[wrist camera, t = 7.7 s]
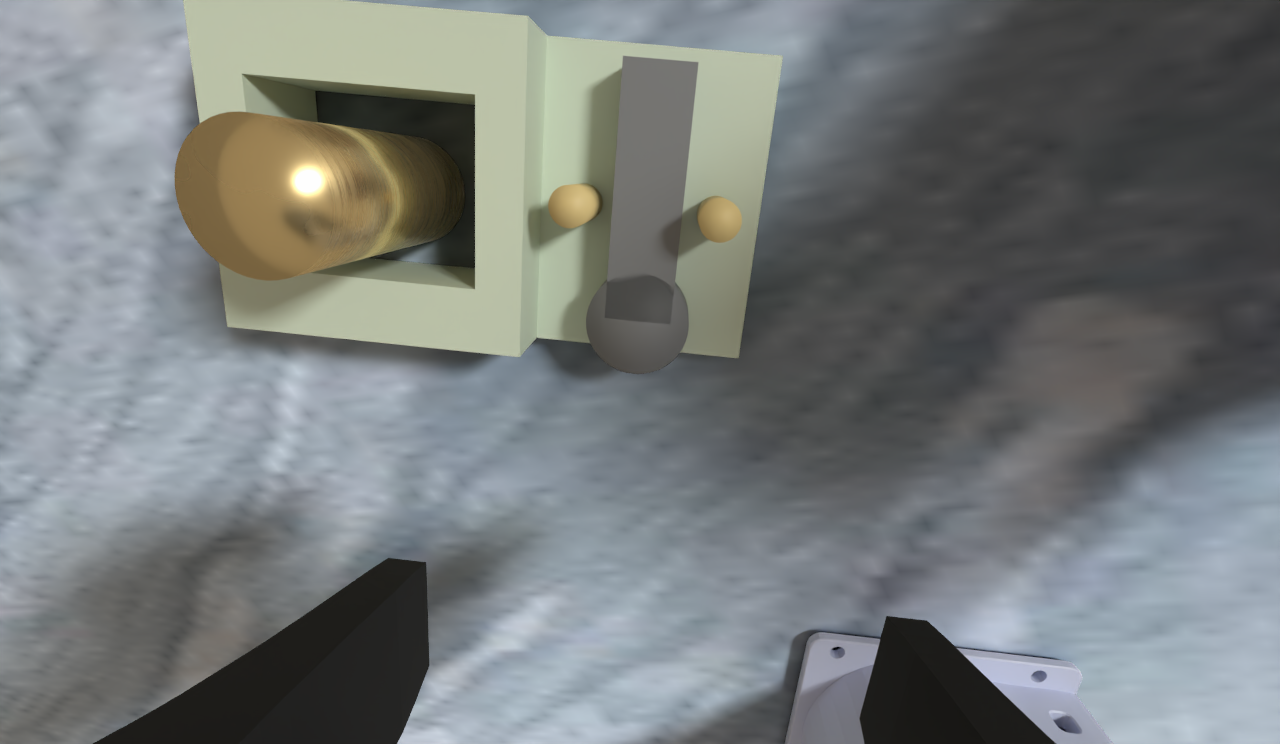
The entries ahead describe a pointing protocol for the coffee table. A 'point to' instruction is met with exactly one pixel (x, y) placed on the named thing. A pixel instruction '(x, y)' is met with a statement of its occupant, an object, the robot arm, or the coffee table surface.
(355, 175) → the brass pin
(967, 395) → the coffee table surface
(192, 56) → the slot jig
